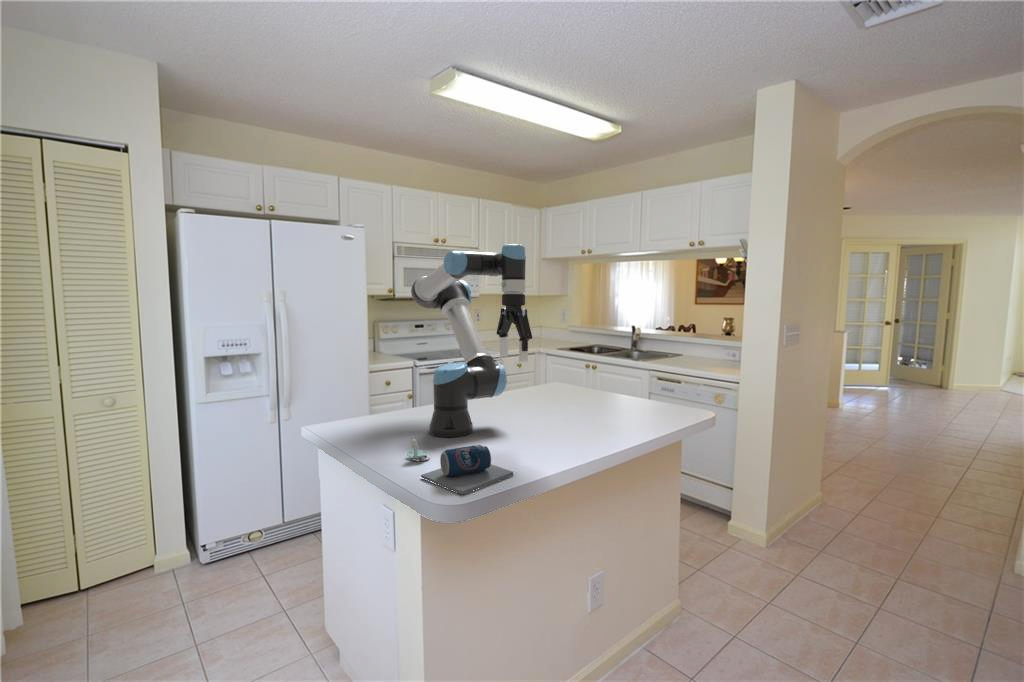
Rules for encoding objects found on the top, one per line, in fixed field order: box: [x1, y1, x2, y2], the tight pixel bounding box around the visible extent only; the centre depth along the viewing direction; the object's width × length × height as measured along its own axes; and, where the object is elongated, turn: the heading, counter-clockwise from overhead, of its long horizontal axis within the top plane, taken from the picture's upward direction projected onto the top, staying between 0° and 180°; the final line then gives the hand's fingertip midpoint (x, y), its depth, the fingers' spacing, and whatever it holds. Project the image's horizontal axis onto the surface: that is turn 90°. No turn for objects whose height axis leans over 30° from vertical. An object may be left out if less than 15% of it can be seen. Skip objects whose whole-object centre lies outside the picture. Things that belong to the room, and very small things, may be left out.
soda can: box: [439, 444, 492, 477], centre depth 128 cm, size 7×7×12 cm
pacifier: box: [406, 438, 431, 462], centre depth 143 cm, size 7×6×6 cm
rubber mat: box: [420, 463, 514, 496], centre depth 129 cm, size 16×18×1 cm
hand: (513, 359), depth 160 cm, fingers open, 13 cm apart
